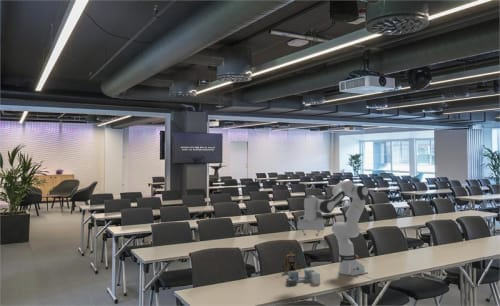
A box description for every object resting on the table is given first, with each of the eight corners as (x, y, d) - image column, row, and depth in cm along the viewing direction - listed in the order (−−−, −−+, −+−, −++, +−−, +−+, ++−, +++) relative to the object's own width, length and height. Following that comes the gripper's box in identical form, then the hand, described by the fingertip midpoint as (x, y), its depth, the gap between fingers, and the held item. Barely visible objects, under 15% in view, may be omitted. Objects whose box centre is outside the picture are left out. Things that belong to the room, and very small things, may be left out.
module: (317, 281, 285) (317, 271, 285) (320, 283, 280) (319, 273, 280) (311, 282, 284) (311, 272, 284) (314, 284, 279) (313, 273, 279)
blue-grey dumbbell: (314, 278, 294) (313, 268, 294) (317, 280, 287) (317, 270, 288) (286, 280, 290) (285, 270, 290) (288, 283, 283) (288, 273, 283)
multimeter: (286, 274, 307) (284, 249, 308) (282, 271, 317) (281, 246, 318) (303, 273, 310) (302, 247, 311) (299, 270, 320) (298, 245, 321)
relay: (294, 283, 282) (294, 278, 282) (296, 285, 278) (296, 279, 279) (286, 284, 280) (286, 279, 281) (289, 286, 277) (288, 280, 277)
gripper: (325, 217, 291) (325, 235, 290) (298, 216, 299) (299, 234, 298) (323, 218, 285) (323, 237, 285) (296, 217, 294) (296, 235, 293)
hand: (310, 235), depth 292 cm, fingers open, 8 cm apart
